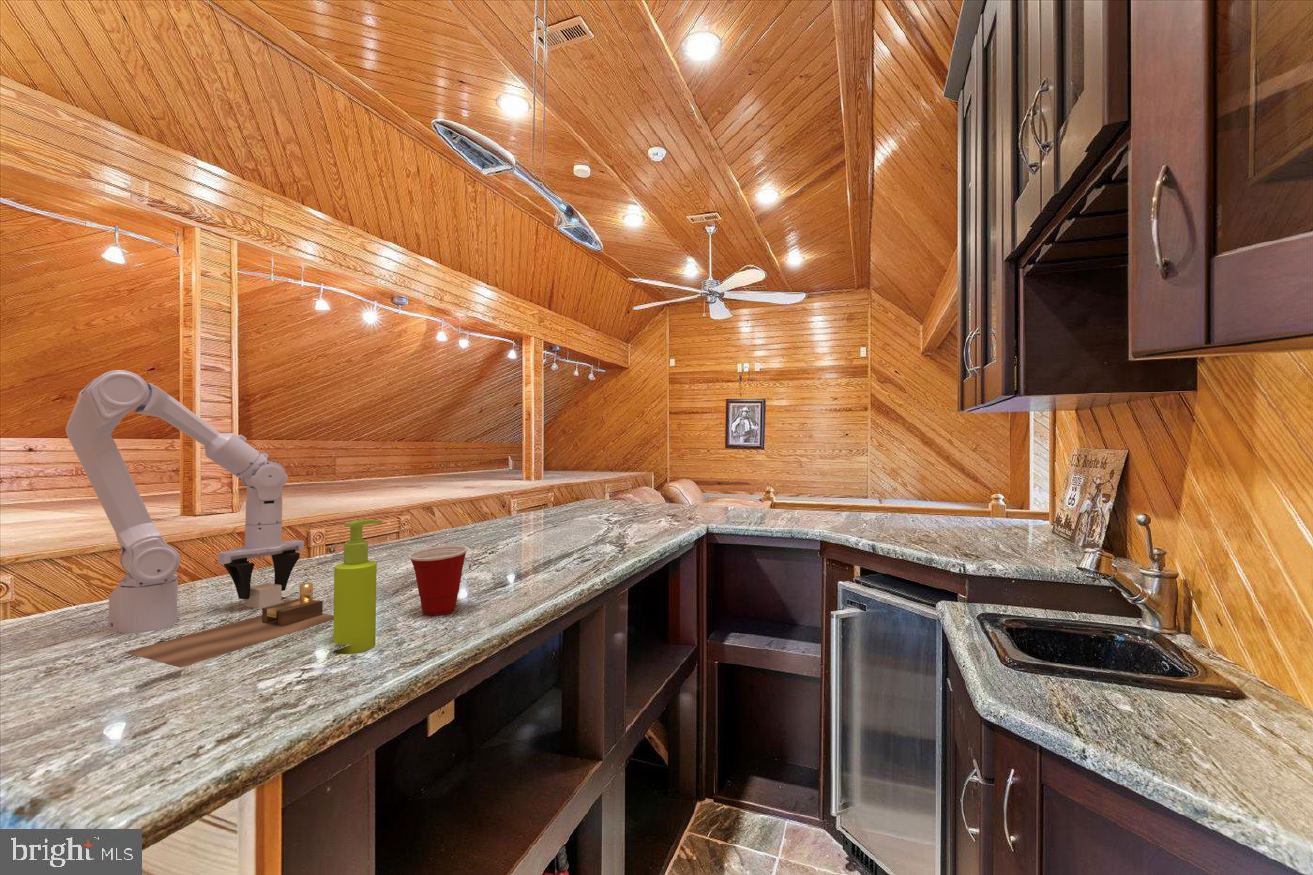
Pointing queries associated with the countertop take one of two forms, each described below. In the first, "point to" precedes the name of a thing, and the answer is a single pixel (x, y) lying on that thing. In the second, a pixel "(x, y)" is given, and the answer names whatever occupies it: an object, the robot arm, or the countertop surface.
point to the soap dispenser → (355, 594)
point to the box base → (235, 635)
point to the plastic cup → (438, 577)
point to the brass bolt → (305, 597)
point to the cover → (264, 595)
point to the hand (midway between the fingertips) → (262, 594)
